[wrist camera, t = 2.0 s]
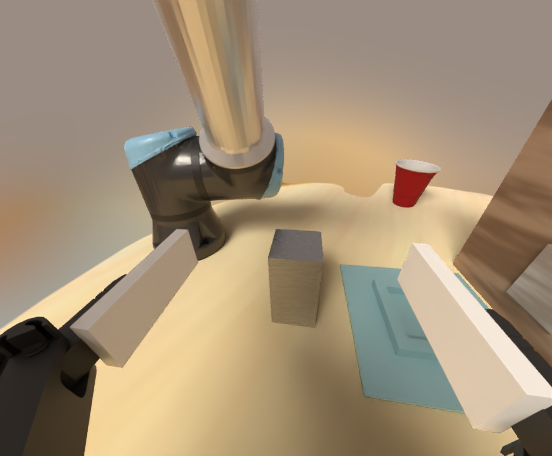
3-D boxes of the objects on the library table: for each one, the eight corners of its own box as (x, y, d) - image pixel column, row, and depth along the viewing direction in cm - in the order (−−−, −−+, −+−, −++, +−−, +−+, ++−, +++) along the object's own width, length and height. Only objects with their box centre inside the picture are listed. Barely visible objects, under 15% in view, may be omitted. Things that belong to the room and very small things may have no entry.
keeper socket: (364, 396, 21) (368, 389, 20) (340, 265, 37) (341, 258, 36) (595, 435, 18) (613, 428, 17) (457, 275, 35) (462, 267, 34)
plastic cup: (421, 215, 53) (440, 171, 47) (379, 205, 59) (390, 164, 53) (427, 202, 60) (444, 161, 54) (389, 194, 66) (400, 157, 60)
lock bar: (272, 322, 28) (268, 257, 22) (277, 289, 33) (276, 229, 27) (314, 327, 27) (323, 262, 21) (313, 292, 32) (320, 231, 26)
